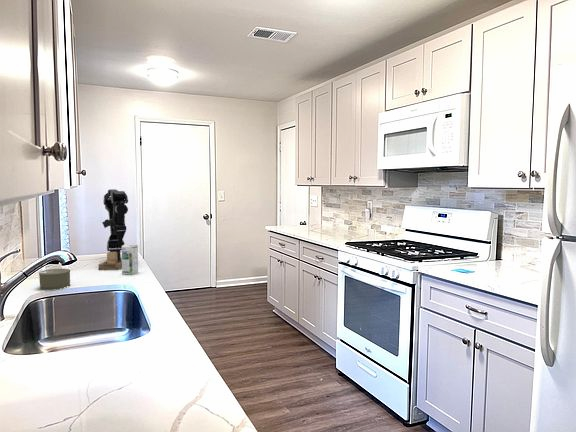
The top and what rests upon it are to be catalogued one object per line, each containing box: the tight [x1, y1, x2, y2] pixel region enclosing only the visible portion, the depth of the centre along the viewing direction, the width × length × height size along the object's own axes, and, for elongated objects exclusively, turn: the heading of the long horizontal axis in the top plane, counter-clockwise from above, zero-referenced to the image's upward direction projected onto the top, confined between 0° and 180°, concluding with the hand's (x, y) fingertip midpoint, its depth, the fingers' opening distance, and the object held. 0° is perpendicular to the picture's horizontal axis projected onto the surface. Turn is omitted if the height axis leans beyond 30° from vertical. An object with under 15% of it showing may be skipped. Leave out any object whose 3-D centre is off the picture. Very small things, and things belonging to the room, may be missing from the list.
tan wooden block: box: [106, 251, 117, 264], centre depth 219 cm, size 4×4×8 cm
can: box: [38, 268, 71, 291], centre depth 179 cm, size 12×12×7 cm
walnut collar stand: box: [98, 260, 122, 271], centre depth 219 cm, size 10×10×3 cm
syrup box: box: [121, 244, 139, 276], centre depth 205 cm, size 6×6×14 cm
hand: (119, 242), depth 225 cm, fingers open, 9 cm apart
